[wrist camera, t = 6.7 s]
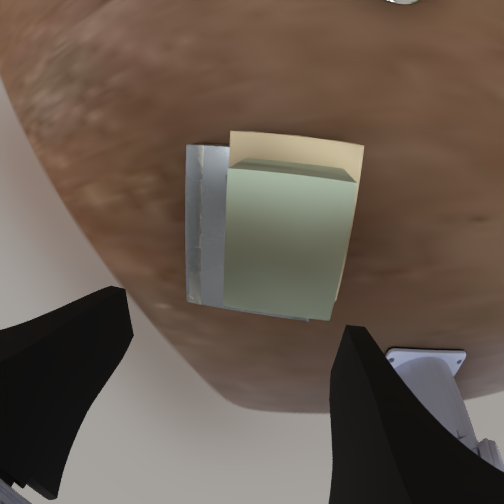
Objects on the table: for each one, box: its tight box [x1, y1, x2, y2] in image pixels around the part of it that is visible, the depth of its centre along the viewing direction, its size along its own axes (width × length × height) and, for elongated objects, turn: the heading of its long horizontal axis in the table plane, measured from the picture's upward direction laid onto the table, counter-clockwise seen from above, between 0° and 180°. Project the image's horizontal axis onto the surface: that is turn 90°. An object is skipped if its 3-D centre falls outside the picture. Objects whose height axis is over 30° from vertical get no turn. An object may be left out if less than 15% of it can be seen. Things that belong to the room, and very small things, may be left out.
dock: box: [185, 143, 309, 321], centre depth 18 cm, size 10×8×2 cm
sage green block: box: [223, 131, 364, 321], centre depth 13 cm, size 8×6×6 cm
